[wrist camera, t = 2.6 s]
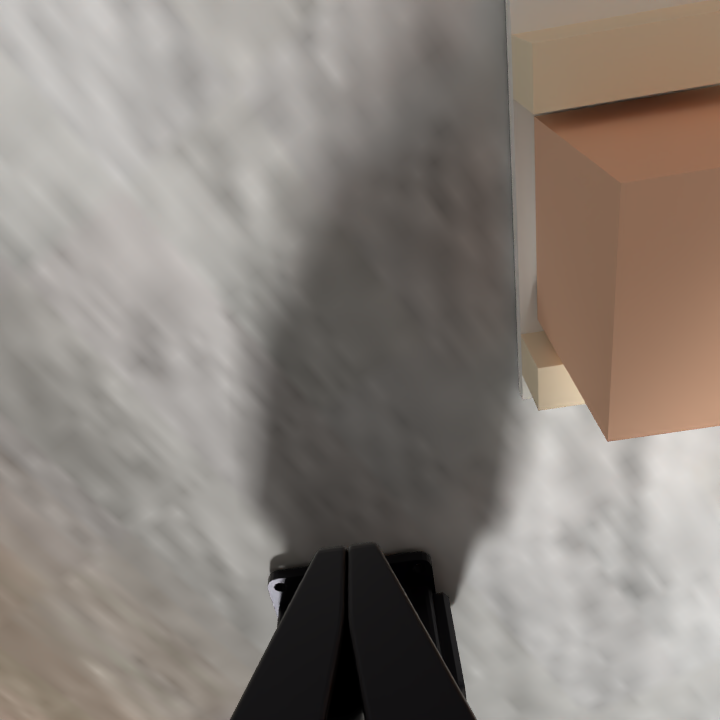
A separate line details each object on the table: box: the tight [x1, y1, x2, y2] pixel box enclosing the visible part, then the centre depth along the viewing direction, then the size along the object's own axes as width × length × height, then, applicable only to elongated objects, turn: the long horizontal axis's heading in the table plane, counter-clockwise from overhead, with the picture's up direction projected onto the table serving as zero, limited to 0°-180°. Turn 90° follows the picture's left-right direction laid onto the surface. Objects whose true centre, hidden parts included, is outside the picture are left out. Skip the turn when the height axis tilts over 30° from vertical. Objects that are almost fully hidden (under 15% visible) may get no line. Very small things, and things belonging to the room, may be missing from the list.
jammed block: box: [534, 85, 720, 442], centre depth 16 cm, size 5×6×6 cm
